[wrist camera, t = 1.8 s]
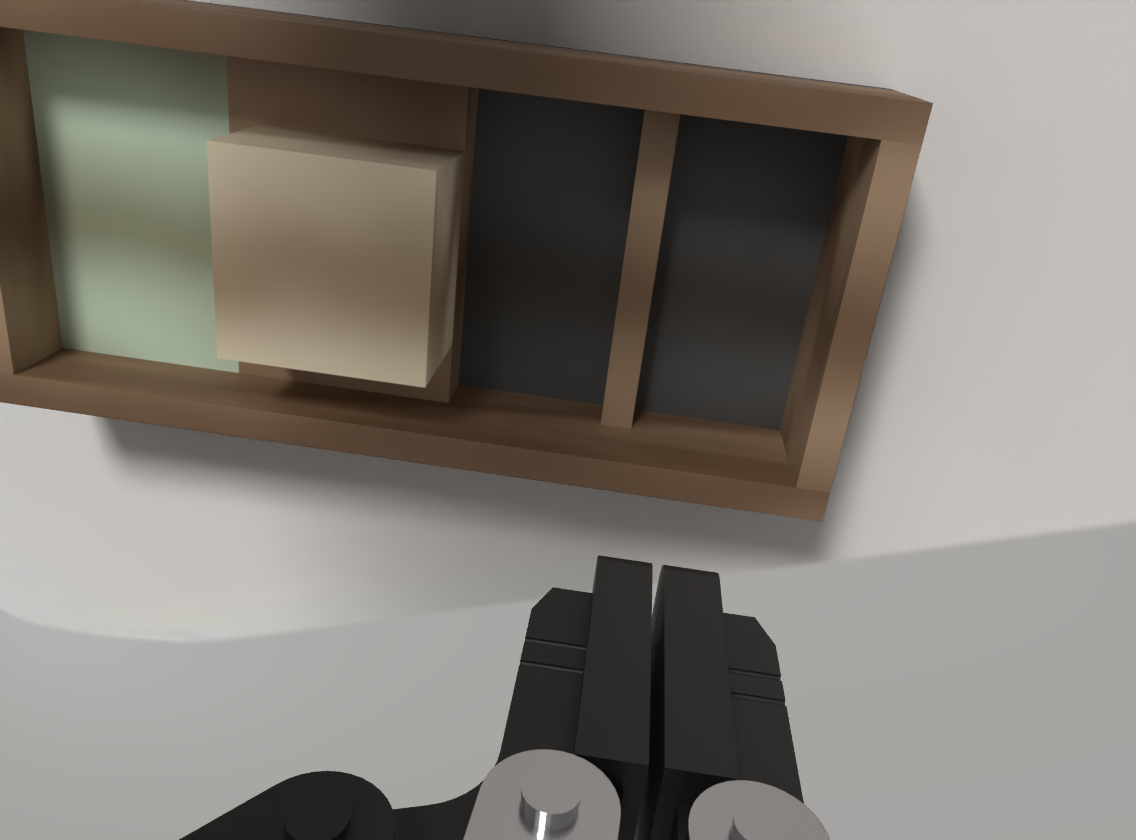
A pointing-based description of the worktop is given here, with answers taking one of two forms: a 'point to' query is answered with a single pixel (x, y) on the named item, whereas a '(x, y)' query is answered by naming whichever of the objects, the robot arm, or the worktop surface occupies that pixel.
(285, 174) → the block
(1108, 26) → the worktop surface
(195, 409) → the divided wooden tray
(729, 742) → the robot arm
